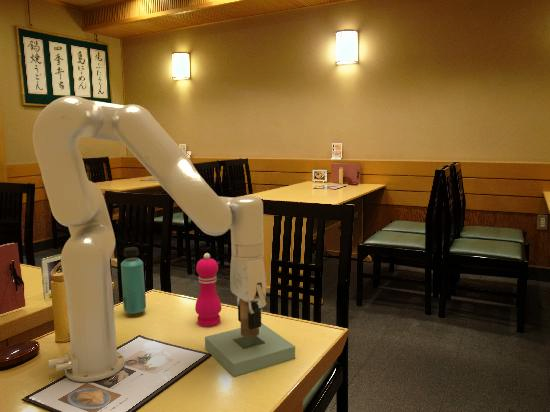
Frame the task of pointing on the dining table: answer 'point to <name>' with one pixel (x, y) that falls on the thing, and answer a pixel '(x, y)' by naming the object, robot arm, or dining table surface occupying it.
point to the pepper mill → (207, 293)
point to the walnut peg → (246, 320)
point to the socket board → (249, 350)
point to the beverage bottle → (133, 282)
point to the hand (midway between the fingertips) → (249, 323)
